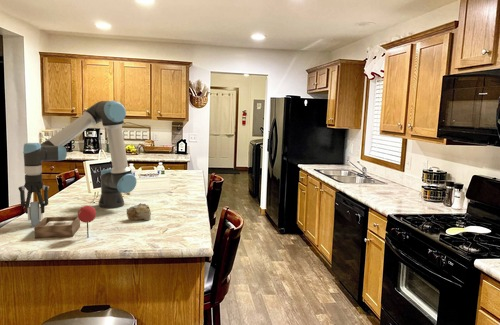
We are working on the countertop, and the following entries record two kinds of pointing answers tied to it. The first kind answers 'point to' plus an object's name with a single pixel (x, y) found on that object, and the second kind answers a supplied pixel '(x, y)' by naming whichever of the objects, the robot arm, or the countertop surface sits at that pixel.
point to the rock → (139, 212)
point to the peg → (34, 213)
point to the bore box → (57, 227)
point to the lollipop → (87, 215)
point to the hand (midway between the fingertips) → (35, 219)
